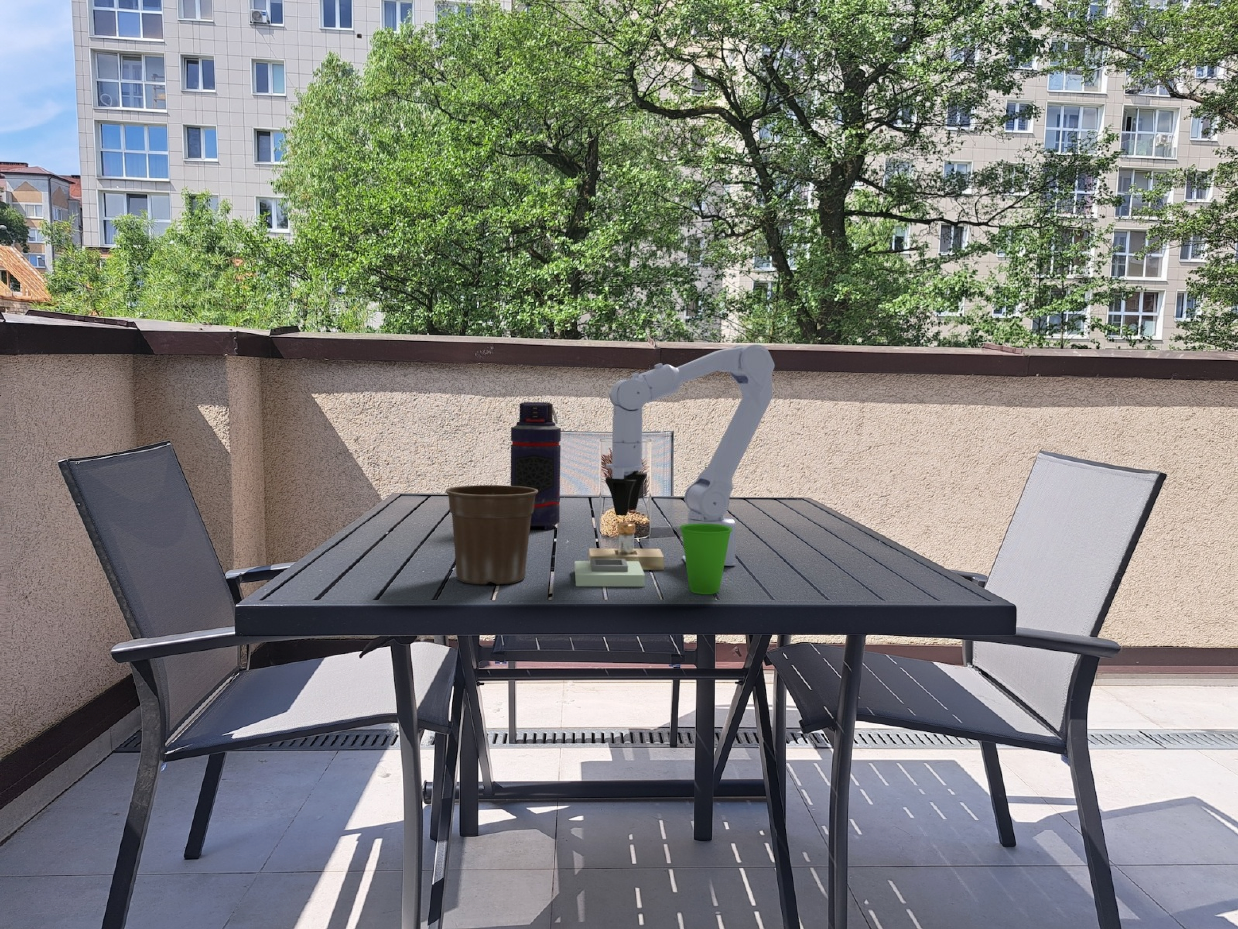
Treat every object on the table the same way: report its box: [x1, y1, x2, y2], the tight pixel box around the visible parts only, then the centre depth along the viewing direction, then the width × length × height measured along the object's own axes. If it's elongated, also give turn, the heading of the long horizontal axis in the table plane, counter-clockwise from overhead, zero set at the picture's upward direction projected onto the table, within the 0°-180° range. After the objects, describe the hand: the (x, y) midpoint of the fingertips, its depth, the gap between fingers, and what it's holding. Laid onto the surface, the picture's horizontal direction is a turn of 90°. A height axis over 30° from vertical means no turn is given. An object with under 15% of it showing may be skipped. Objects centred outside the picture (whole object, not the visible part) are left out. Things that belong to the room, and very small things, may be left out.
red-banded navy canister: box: [510, 401, 562, 531], centre depth 219 cm, size 14×12×30 cm
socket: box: [574, 559, 646, 587], centre depth 164 cm, size 12×12×3 cm
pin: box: [617, 522, 636, 555], centre depth 176 cm, size 3×3×8 cm
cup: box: [679, 523, 733, 595], centre depth 156 cm, size 9×9×11 cm
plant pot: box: [445, 484, 538, 585], centre depth 162 cm, size 16×16×16 cm
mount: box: [588, 547, 665, 571], centre depth 176 cm, size 14×8×2 cm, turn 94°
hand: (626, 512), depth 175 cm, fingers open, 7 cm apart
